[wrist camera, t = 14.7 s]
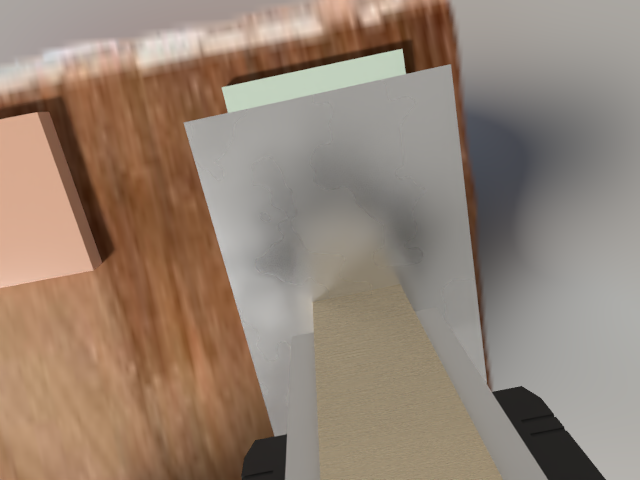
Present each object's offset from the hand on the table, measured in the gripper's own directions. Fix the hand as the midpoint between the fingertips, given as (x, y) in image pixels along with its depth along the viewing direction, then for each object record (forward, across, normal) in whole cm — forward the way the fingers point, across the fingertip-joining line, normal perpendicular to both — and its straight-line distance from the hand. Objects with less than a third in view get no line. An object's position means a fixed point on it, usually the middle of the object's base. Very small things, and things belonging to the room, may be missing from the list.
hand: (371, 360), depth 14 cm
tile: (+22, +25, +1) cm, 33 cm away
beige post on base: (+3, 0, 0) cm, 3 cm away
